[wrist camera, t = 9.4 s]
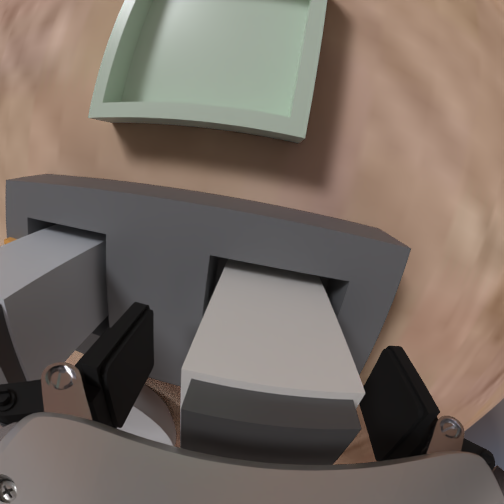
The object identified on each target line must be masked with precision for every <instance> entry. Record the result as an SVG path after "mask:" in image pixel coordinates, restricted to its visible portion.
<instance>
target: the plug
mask: <svg viewBox="0 0 504 504" xmlns="http://www.w3.org/2000/svg"><path fill="white" fill-rule="evenodd" d="M364 395H365V390H364V388H363V385H362V382H361V379H360V377H359V374H358V371H357V369H356V366H355V363H354V361H353V358H352V355H351V353H350V350H349V348H348V345H347V343H346V340H345V338H344V335H343V332H342V330H341V328H340V325H339V323H338V320H337V318H336V315H335V313H334V310H333V308H332V306H331V303H330V301H329V298H328V296H327V294H326V291H325V289H324V287H323V284H322V282H321V280H320V278H319V276H317V275H312V274H306V273H301V272H296V271H290V270H285V269H280V268H274V267H269V266H264V265H258V264H253V263H248V262H243V261H237V260H232V259H228V261H227V263H226V265H225V267H224V270H223V272H222V274H221V277H220V279H219V281H218V283H217V286H216V288H215V290H214V293H213V295H212V297H211V300H210V302H209V304H208V307H207V309H206V311H205V314H204V316H203V318H202V321H201V323H200V325H199V328H198V330H197V332H196V335H195V337H194V340H193V342H192V344H191V347H190V349H189V352H188V354H187V356H186V359H185V361H184V364H183V366H182V368H181V400H180V448H182V449H186V450H191V451H195V452H200V453H204V454H209V455H215V456H220V457H226V458H232V459H239V460H247V461H255V462H264V463H276V464H294V465H333V464H334V462H335V461H336V460H337V459H338V458H339V457H340V455H341V454H342V453H343V452H344V451H345V449H346V448H347V447H348V446H349V444H350V443H351V442H352V441H353V439H354V438H355V437H356V435H357V434H358V433H359V431H360V430H361V425H360V422H359V418H358V415H357V411H356V408H357V406H358V405H359V403H360V401H361V400H362V398H363V396H364Z"/></svg>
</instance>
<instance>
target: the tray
mask: <svg viewBox="0 0 504 504" xmlns="http://www.w3.org/2000/svg"><path fill="white" fill-rule="evenodd" d="M326 6H327V0H125V1H124V3H123V5H122V8H121V10H120V12H119V15H118V17H117V20H116V22H115V25H114V27H113V30H112V33H111V35H110V38H109V41H108V44H107V47H106V50H105V53H104V56H103V59H102V63H101V66H100V69H99V73H98V77H97V80H96V84H95V88H94V92H93V97H92V101H91V106H90V111H89V116H88V118H91V119H96V120H101V121H106V122H111V123H148V124H166V125H180V126H191V127H201V128H210V129H218V130H226V131H233V132H240V133H246V134H252V135H258V136H264V137H269V138H275V139H280V140H285V141H290V142H295V143H300V142H301V141H302V140H304V139H305V136H306V131H307V125H308V120H309V114H310V108H311V103H312V97H313V91H314V85H315V79H316V73H317V67H318V61H319V54H320V48H321V41H322V35H323V28H324V21H325V13H326Z"/></svg>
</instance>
